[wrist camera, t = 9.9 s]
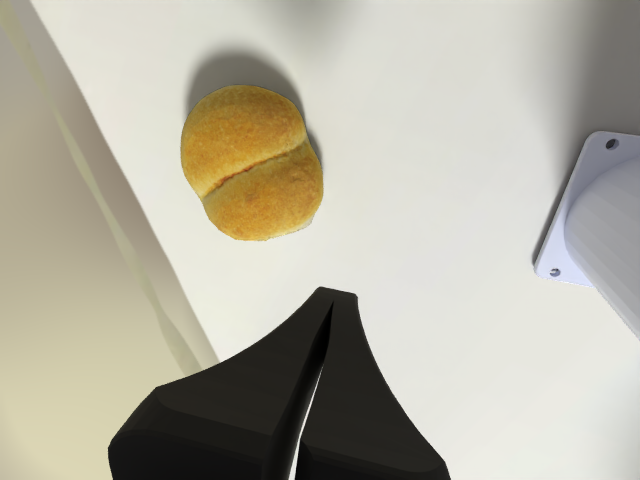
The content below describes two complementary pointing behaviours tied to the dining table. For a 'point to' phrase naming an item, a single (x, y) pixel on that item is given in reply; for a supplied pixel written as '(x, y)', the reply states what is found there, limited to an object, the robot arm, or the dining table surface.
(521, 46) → the dining table surface
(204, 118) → the bread roll
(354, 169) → the dining table surface
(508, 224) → the dining table surface
